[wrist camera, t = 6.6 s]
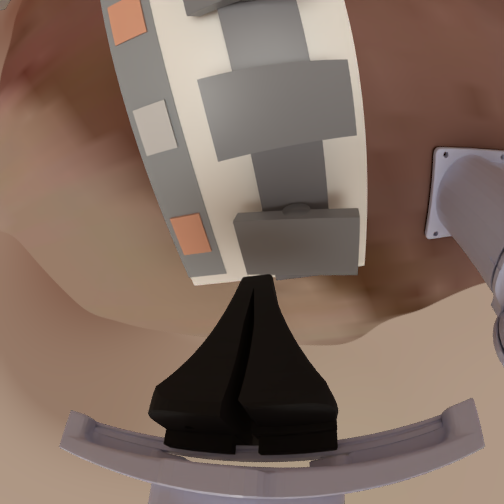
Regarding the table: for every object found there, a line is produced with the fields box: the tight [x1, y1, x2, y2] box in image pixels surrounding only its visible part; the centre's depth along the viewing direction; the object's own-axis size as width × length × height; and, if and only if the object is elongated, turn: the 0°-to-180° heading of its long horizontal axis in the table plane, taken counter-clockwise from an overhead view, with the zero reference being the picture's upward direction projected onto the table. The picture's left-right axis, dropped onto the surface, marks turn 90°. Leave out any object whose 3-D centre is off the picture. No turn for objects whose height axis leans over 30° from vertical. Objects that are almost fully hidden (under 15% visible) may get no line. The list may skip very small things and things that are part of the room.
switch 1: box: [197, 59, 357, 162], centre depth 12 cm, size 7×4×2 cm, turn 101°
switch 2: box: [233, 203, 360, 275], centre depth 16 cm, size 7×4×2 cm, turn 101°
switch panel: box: [100, 0, 367, 285], centre depth 14 cm, size 14×26×3 cm, turn 11°
